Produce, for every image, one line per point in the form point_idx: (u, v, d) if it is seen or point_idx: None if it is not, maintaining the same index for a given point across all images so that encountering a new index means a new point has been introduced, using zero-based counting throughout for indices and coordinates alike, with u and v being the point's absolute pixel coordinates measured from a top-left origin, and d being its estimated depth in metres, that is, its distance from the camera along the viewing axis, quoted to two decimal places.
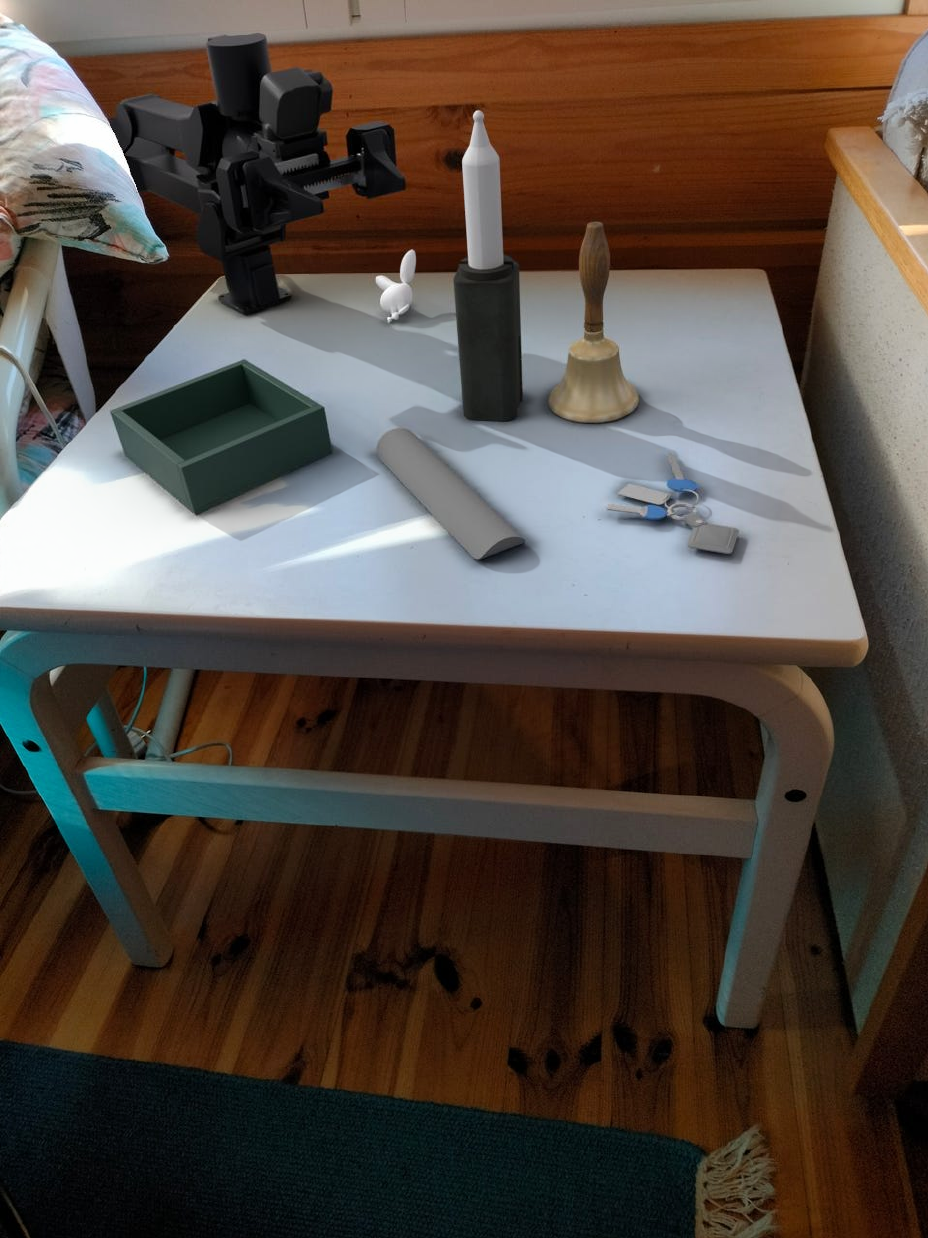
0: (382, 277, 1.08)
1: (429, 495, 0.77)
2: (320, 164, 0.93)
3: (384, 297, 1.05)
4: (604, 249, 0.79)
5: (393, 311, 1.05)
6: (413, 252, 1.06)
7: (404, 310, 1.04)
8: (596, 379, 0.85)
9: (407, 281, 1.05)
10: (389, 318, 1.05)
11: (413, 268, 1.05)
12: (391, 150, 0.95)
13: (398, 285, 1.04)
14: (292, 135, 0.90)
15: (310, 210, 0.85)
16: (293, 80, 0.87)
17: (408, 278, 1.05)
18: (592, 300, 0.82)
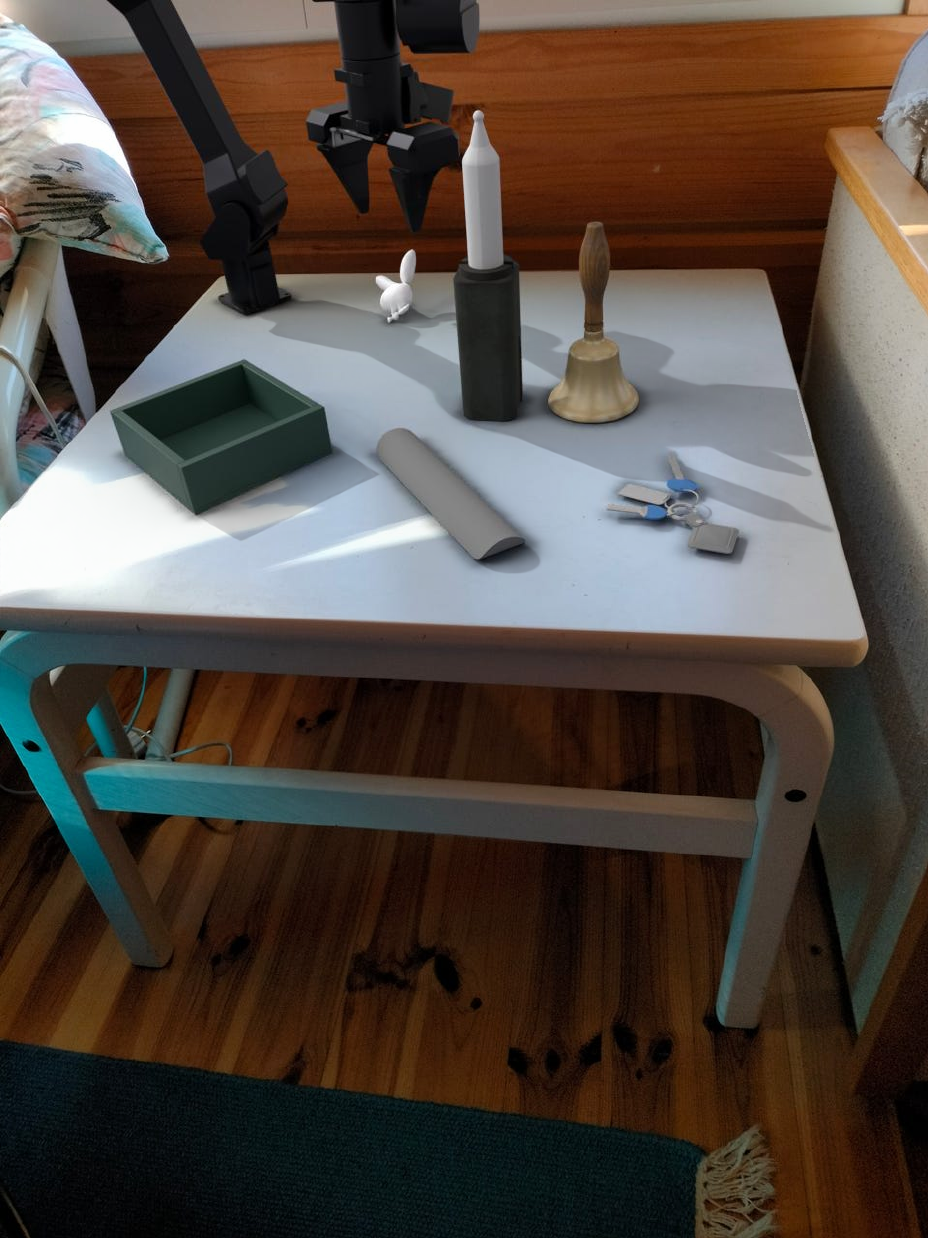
0: (382, 277, 1.08)
1: (429, 495, 0.77)
2: None
3: (384, 297, 1.05)
4: (604, 249, 0.79)
5: (393, 311, 1.05)
6: (413, 252, 1.06)
7: (404, 310, 1.04)
8: (596, 379, 0.85)
9: (407, 281, 1.05)
10: (389, 318, 1.05)
11: (413, 268, 1.05)
12: None
13: (398, 285, 1.04)
14: None
15: (415, 222, 0.98)
16: None
17: (408, 278, 1.05)
18: (592, 300, 0.82)
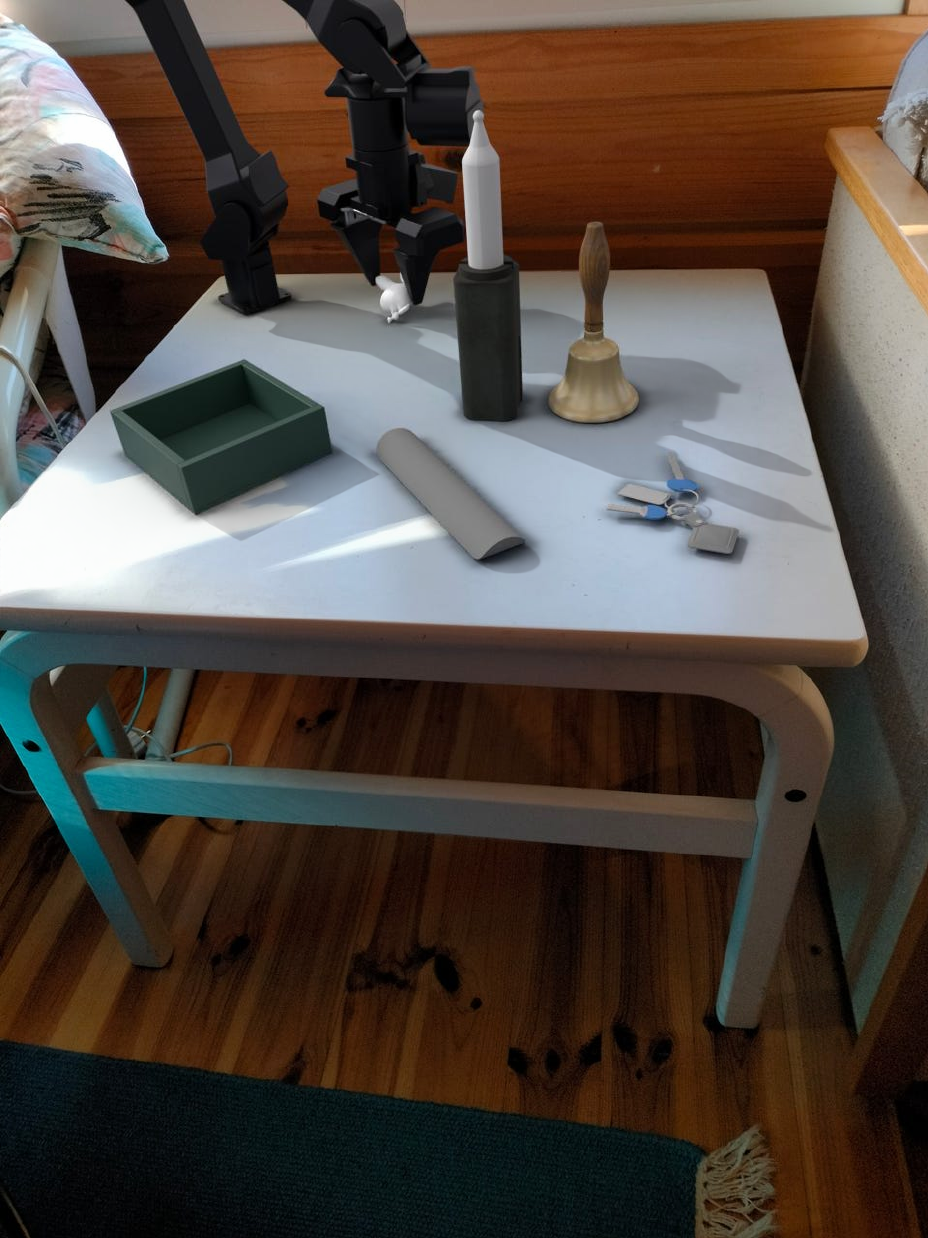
0: (382, 277, 1.08)
1: (429, 495, 0.77)
2: None
3: (384, 297, 1.05)
4: (604, 249, 0.79)
5: (393, 311, 1.05)
6: None
7: (404, 310, 1.04)
8: (596, 379, 0.85)
9: None
10: (389, 318, 1.05)
11: None
12: None
13: (398, 285, 1.04)
14: None
15: (417, 296, 1.04)
16: None
17: None
18: (592, 300, 0.82)
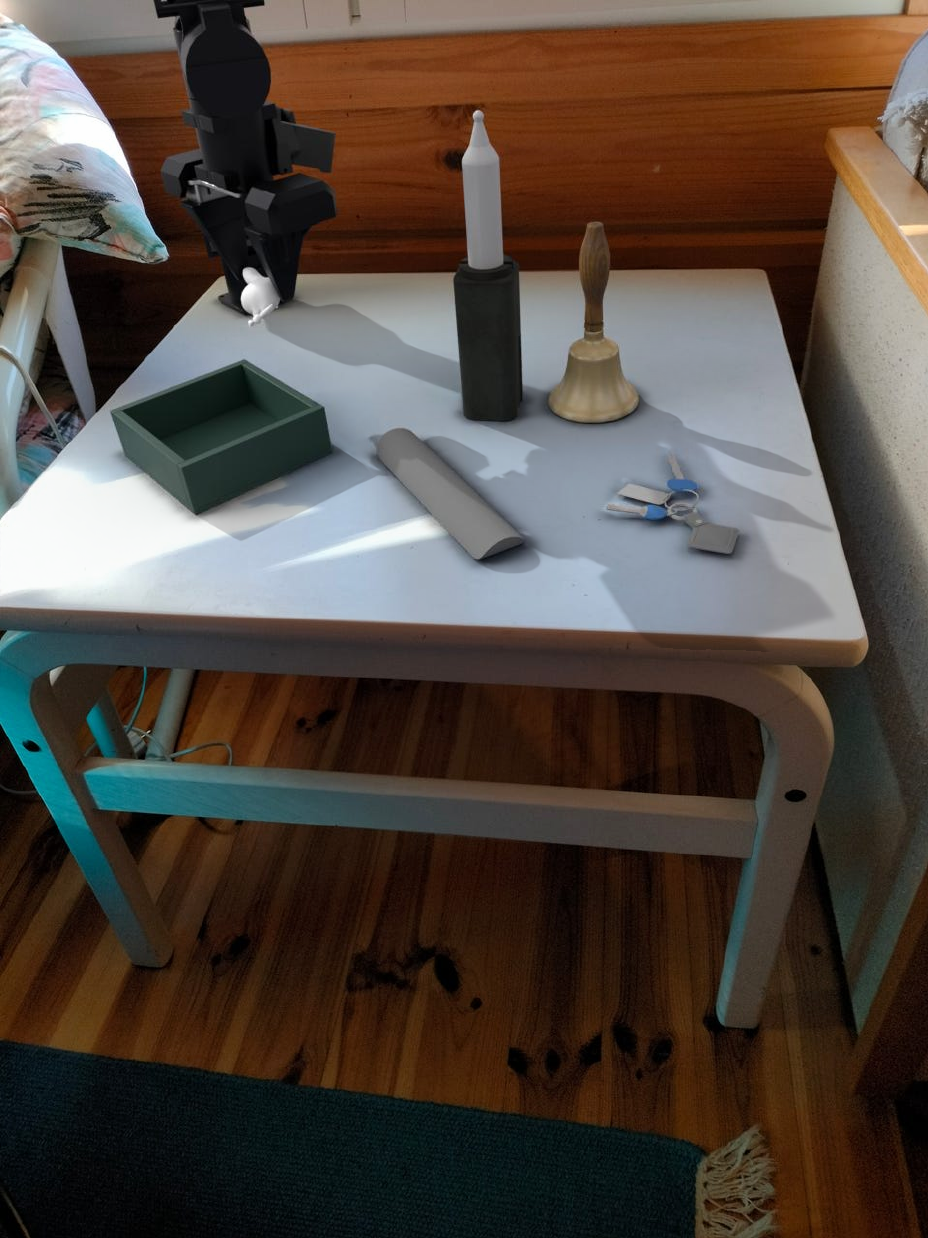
0: (249, 269, 0.85)
1: (429, 495, 0.77)
2: None
3: (244, 295, 0.82)
4: (604, 249, 0.79)
5: (255, 313, 0.83)
6: None
7: (267, 312, 0.82)
8: (596, 379, 0.85)
9: None
10: (250, 322, 0.83)
11: None
12: None
13: (261, 280, 0.82)
14: None
15: (285, 289, 0.82)
16: None
17: None
18: (592, 300, 0.82)
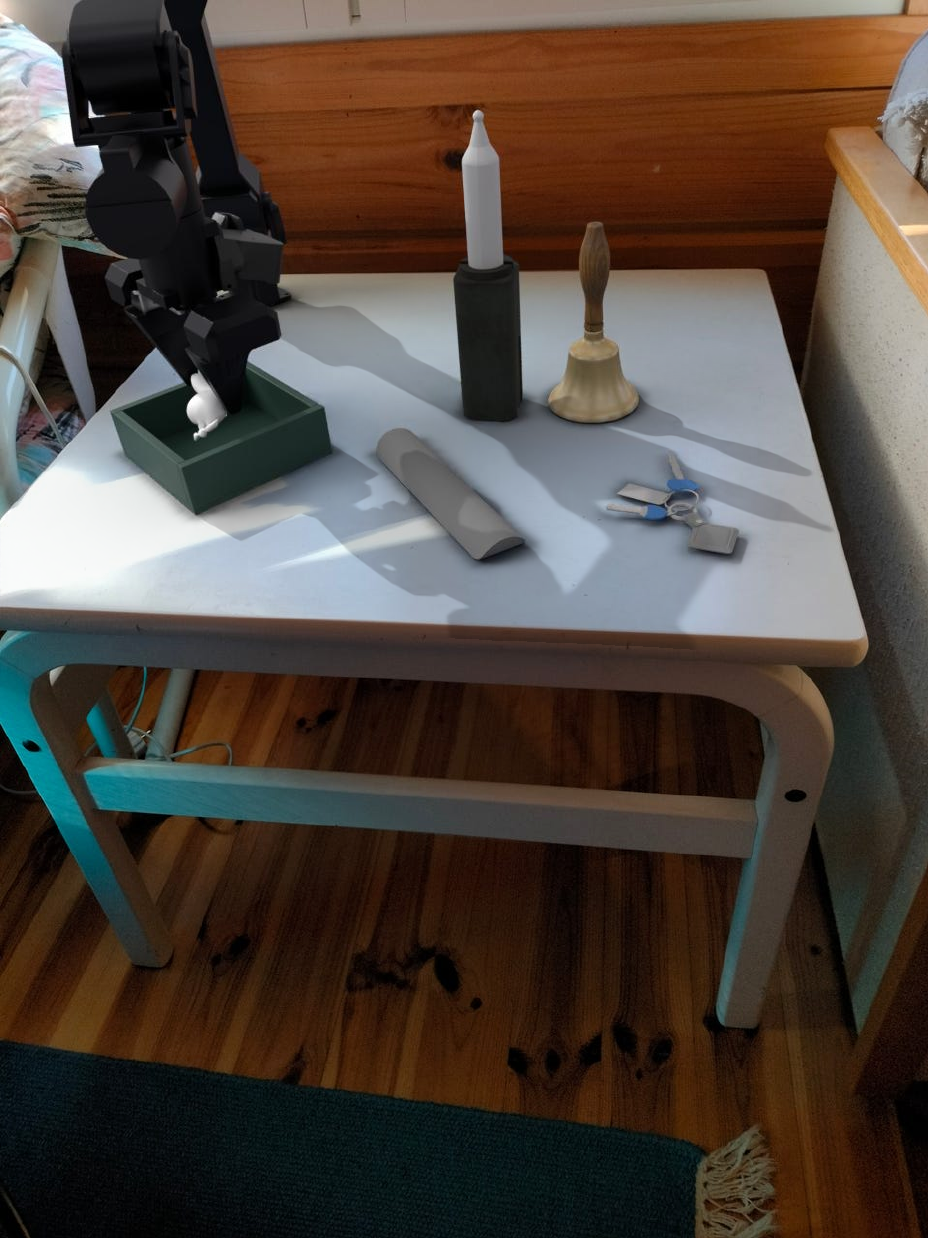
0: (197, 377, 0.83)
1: (429, 495, 0.77)
2: None
3: (189, 407, 0.80)
4: (604, 249, 0.79)
5: (201, 426, 0.80)
6: None
7: (212, 427, 0.79)
8: (596, 379, 0.85)
9: None
10: (195, 435, 0.80)
11: None
12: None
13: (207, 393, 0.79)
14: None
15: (231, 404, 0.79)
16: None
17: None
18: (592, 300, 0.82)
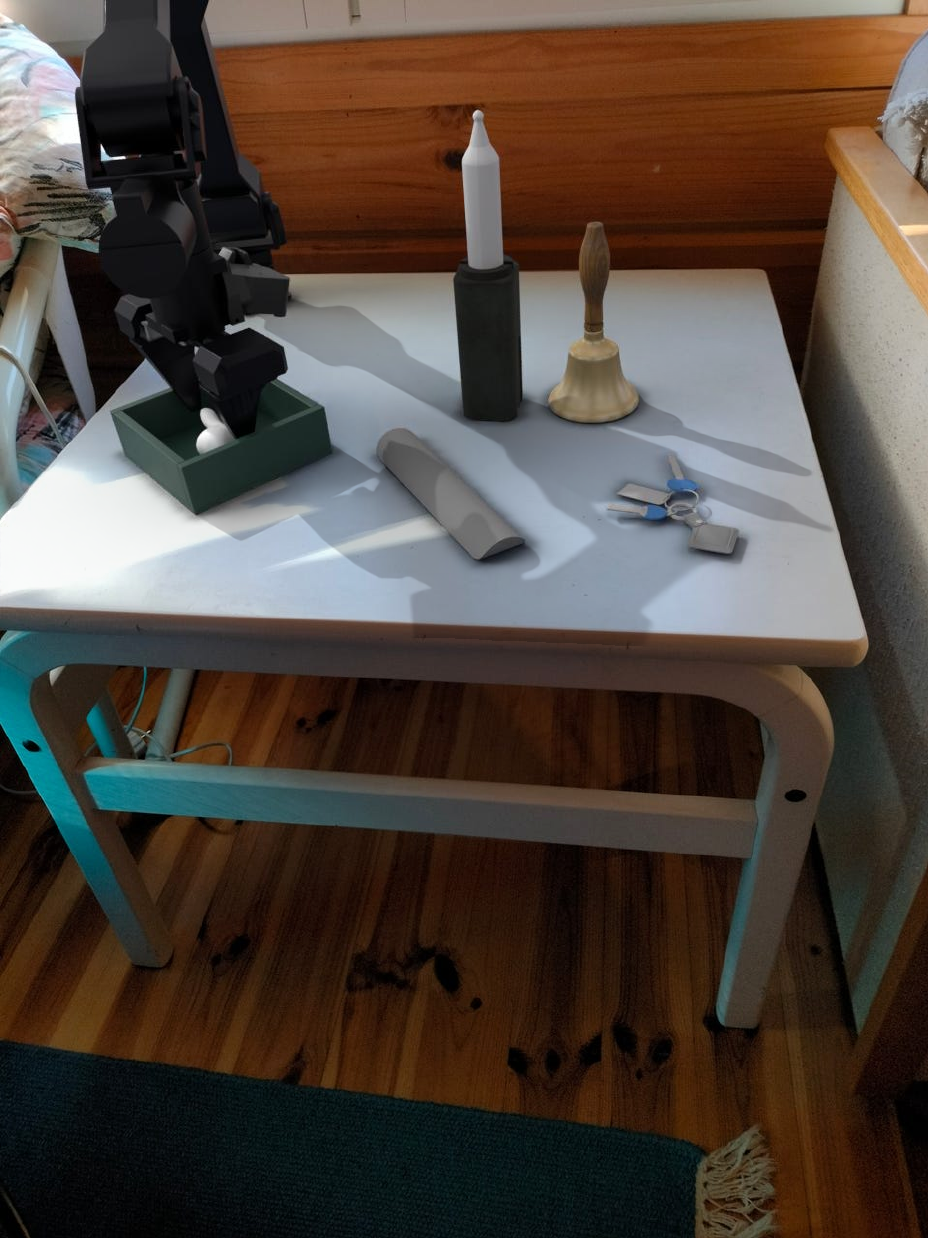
0: (206, 412, 0.85)
1: (429, 495, 0.77)
2: None
3: (199, 442, 0.82)
4: (604, 249, 0.79)
5: None
6: None
7: None
8: (596, 379, 0.85)
9: None
10: None
11: None
12: None
13: (216, 428, 0.82)
14: None
15: None
16: None
17: None
18: (592, 300, 0.82)
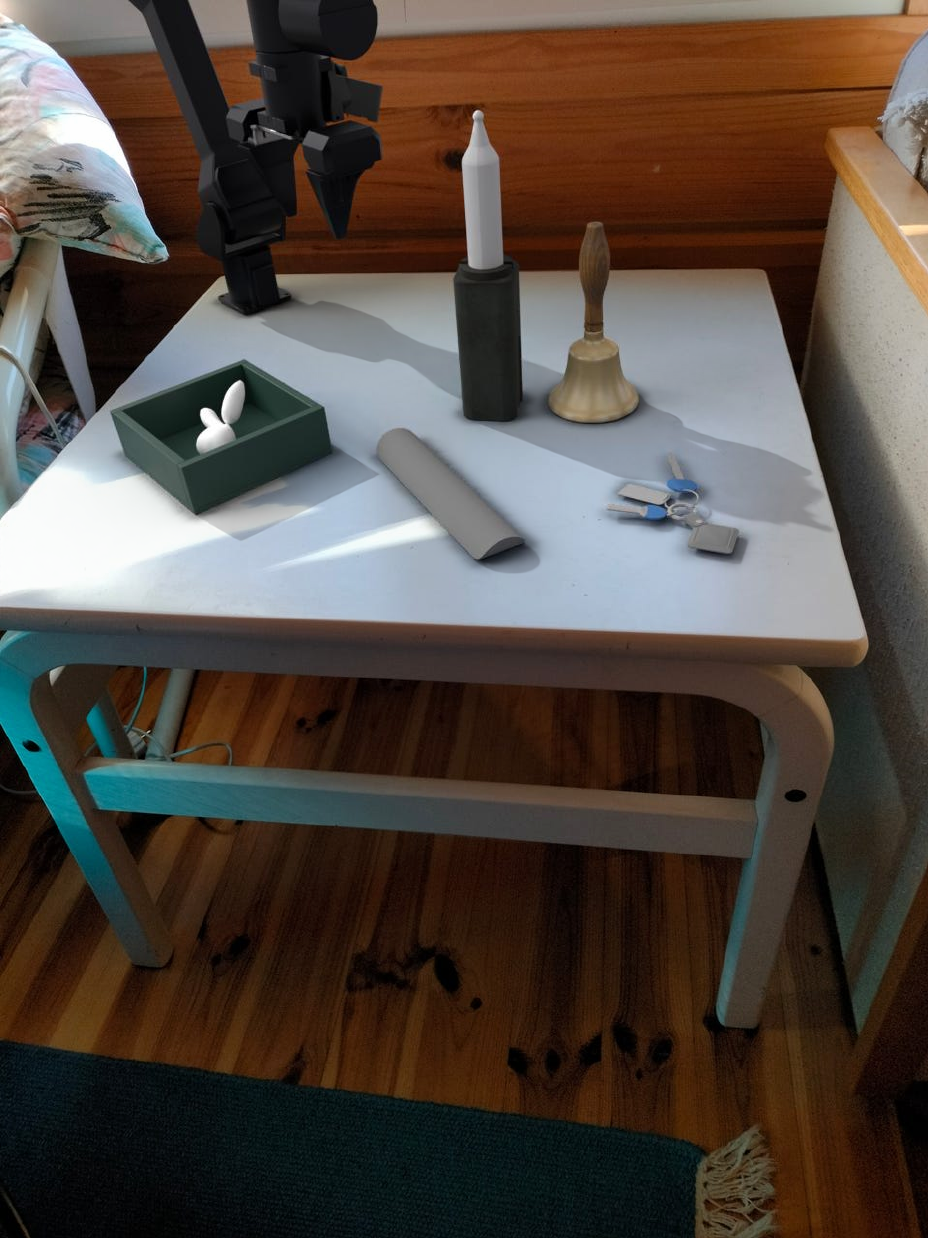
0: (206, 412, 0.85)
1: (429, 495, 0.77)
2: None
3: (199, 442, 0.82)
4: (604, 249, 0.79)
5: None
6: (240, 384, 0.83)
7: None
8: (596, 379, 0.85)
9: (230, 422, 0.82)
10: None
11: (239, 405, 0.83)
12: None
13: (216, 428, 0.82)
14: None
15: (338, 228, 0.91)
16: None
17: (231, 418, 0.82)
18: (592, 300, 0.82)
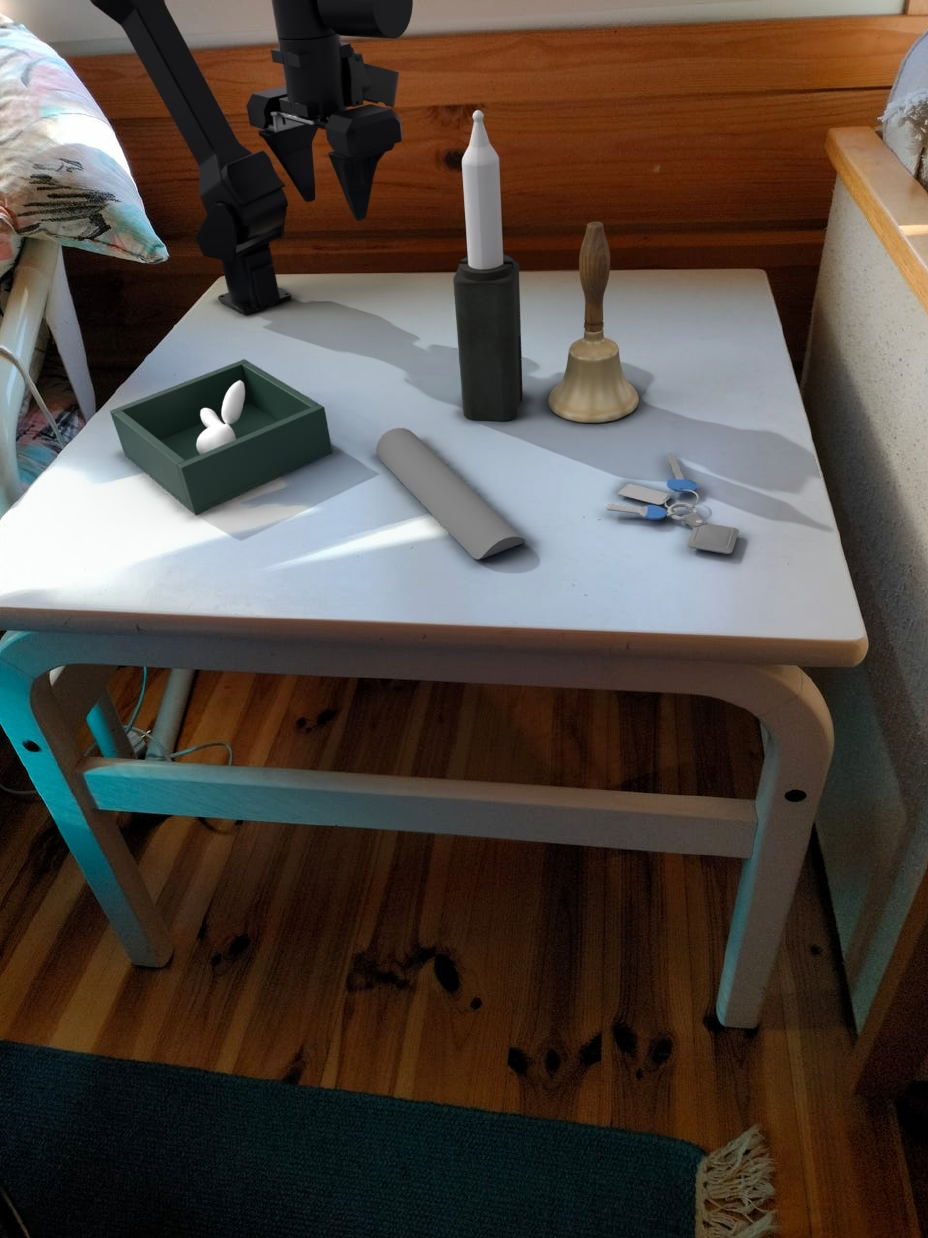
0: (206, 412, 0.85)
1: (429, 495, 0.77)
2: None
3: (199, 442, 0.82)
4: (604, 249, 0.79)
5: None
6: (240, 384, 0.83)
7: None
8: (596, 379, 0.85)
9: (230, 422, 0.82)
10: None
11: (239, 405, 0.83)
12: None
13: (216, 428, 0.82)
14: None
15: (359, 210, 0.94)
16: None
17: (231, 418, 0.82)
18: (592, 300, 0.82)
